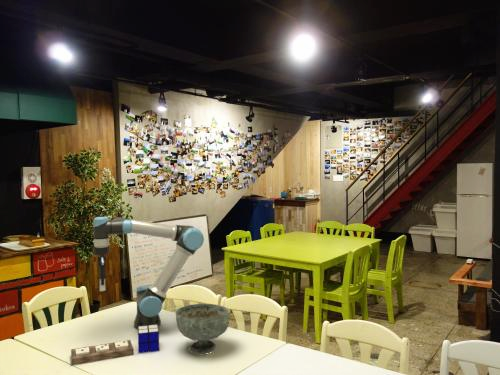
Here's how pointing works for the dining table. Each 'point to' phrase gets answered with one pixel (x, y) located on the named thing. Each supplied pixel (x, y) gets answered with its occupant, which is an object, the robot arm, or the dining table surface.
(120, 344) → the tile two
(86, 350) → the tile one
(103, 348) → the tile three
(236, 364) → the dining table surface
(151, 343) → the puzzle cube
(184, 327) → the decorative bowl
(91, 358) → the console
